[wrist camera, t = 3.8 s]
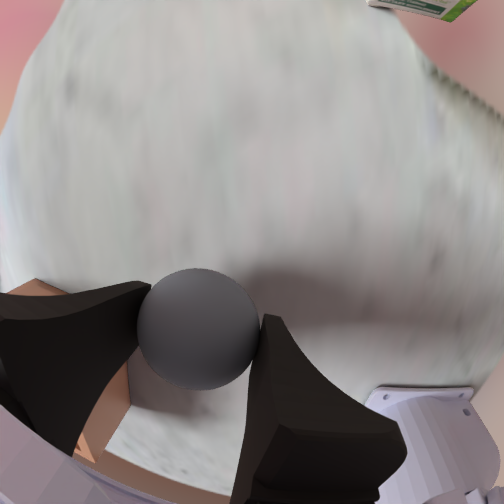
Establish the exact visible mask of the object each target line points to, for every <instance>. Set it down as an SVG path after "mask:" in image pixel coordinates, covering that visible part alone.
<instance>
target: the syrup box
mask: <svg viewBox="0 0 504 504" xmlns="http://www.w3.org/2000/svg"><path fill="white" fill-rule="evenodd" d="M476 1H477V0H366V2H367V4H368V5H370V6H377V7H378V6H383V7H389V8H395V9H399V10H404V11H408V12H413V13H418V14H422V15H426V16H430V17H433V18H437V19H441V20H444V21H447V22H452V21H454V20H455V18H457V17H458V16H459V15H460V14H461V13H463V12H464V11H465V10H466V9H467V8H468V7H470V6H471V5H472V4H473V3H474V2H476Z"/></svg>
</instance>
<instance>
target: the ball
mask: <svg viewBox="0 0 504 504" xmlns="http://www.w3.org/2000/svg"><path fill="white" fill-rule="evenodd" d="M137 337H138V342H139V346H140V349H141V351H142V353H143V356H144V357H145V359H146V361H147V362H148V364H149V365H150V366H151V368H152V369H153V370H154V371H155V372H156V373H157V374H158V375H159V376H161V377H162V378H163V379H165V380H166V381H168V382H170V383H171V384H174V385H176V386H178V387H181V388H185V389H190V390H210V389H215V388H218V387H221V386H224V385H226V384H228V383H230V382H232V381H233V380H235V379H236V378H238V377H239V376H240V375H241V374H242V373H243V372H244V371H245V370H246V369H247V367H248V366H249V365H250V363H251V361H252V360H253V358H254V356H255V354H256V350H257V346H258V342H259V337H260V323H259V318H258V314H257V311H256V308H255V306H254V303H253V302H252V300H251V298H250V297H249V295H248V294H247V293H246V292H245V290H244V289H243V288H242V287H241V286H240V285H239V284H238V283H236V282H235V281H234V280H233V279H231V278H229V277H228V276H226V275H224V274H221V273H219V272H216V271H213V270H208V269H197V268H194V269H185V270H181V271H178V272H175V273H172V274H170V275H168V276H166V277H165V278H163V279H162V280H160V281H159V282H158V283H157V284H155V286H154V287H153V288H152V289H151V290H150V291H149V292H148V294H147V295H146V297H145V299H144V300H143V302H142V305H141V307H140V310H139V314H138V318H137Z"/></svg>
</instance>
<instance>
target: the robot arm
mask: <svg viewBox="0 0 504 504" xmlns="http://www.w3.org/2000/svg"><path fill="white" fill-rule="evenodd" d="M150 290H151V284H148V283H144V282H141V281H130V282H125V283H121V284H116V285H112V286H108V287H103V288H99V289H94V290H89V291H84V292H79V293H73V294H64V295H53V296H25V295H14V294H6V293H0V504H177V503H173V502H170V501H167V500H164V499H160V498H158V497H155V496H152V495H149V494H147V493H144V492H141V491H139V490H136V489H134V488H131V487H129V486H127V485H124V484H122V483H120V482H118V481H115V480H113V479H111V478H109V477H107V476H105V475H103V474H101V473H99V472H97V471H95V470H93V469H91V468H89V467H87V466H85V465H84V464H82V463H80V462H78V461H76V460H75V459H73V458H72V455H73V452H74V450H75V447H76V445H77V442H78V439H79V437H80V435H81V433H82V431H83V428H84V426H85V424H86V422H87V420H88V418H89V416H90V414H91V412H92V410H93V408H94V407H95V405H96V403H97V401H98V399H99V398H100V396H101V394H102V393H103V391H104V389H105V388H106V386H107V385H108V383H109V382H110V381H111V379H112V378H113V377H114V375H115V374H116V373H117V372H118V370H119V369H120V368H121V367H122V366H123V364H124V363H125V362H126V361H127V359H128V358H129V357H130V356H131V354H132V353H133V352H134V351H135V350H136V348H137V347H138V346H139V342H138V337H137V318H138V314H139V310H140V307H141V305H142V302H143V300H144V299H145V297H146V295H147V294H148V292H149V291H150ZM473 393H474V390H473V388H472V387H465V388H391V387H379V388H376V389H375V390H374V391H373V392H372V393H371V395H370V396H369V398H368V400H367V401H366V403H365V405H362V404H361V403H359V402H357V401H356V400H354V399H353V398H351V397H350V396H348V395H347V394H345V393H344V392H343V391H341V390H340V389H339V388H338V387H336V386H335V385H334V384H332V383H331V382H330V381H329V380H328V379H327V378H326V377H324V376H323V375H322V374H321V373H320V372H319V371H318V370H317V368H316V367H315V366H314V365H313V364H312V363H311V362H310V361H309V360H308V358H307V357H306V356H305V355H304V353H303V352H302V351H301V349H300V348H299V347H298V345H297V344H296V342H295V341H294V339H293V338H292V336H291V334H290V333H289V331H288V329H287V327H286V326H285V324H284V322H283V320H282V319H281V317H278V316H274V315H269V314H264V318H263V322H262V325H261V329H260V337H259V342H258V346H257V350H256V354H255V356H254V358H253V360H252V365H251V370H250V375H249V386H248V401H247V415H246V426H245V433H244V439H243V444H242V449H241V454H240V459H239V464H238V468H237V473H236V478H235V482H234V486H233V491H232V495H231V499H230V504H504V487H499V486H496V487H494V488H493V489H491V488H492V486H493V485H494V483H495V481H496V479H497V477H498V473H499V469H500V454H499V450H498V447H497V445H496V444H495V442H494V440H493V438H492V437H491V435H490V433H489V432H488V430H487V429H486V427H485V425H484V424H483V422H482V420H481V419H480V417H479V416H478V414H477V413H476V411H475V410H474V408H473V406H472V405H471V403H470V402H469V399H470V398H471V396H472V395H473ZM386 394H387V395H386ZM384 395H385V396H384ZM490 489H491V490H490Z"/></svg>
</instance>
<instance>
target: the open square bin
mask: <svg viewBox="0 0 504 504" xmlns="http://www.w3.org/2000/svg"><path fill="white" fill-rule="evenodd" d="M6 294H14V295H25V296H53V295H64V294H69V293H66V292H64V291H62V290H59V289H57V288H55V287H53V286H50V285H48V284H46V283H44V282H42V281H39V280H37V279H33V280H31V281H29V282H27V283H25V284H23V285H21V286H19V287H17V288H15V289H13V290H11V291H10V292H8V293H6ZM130 406H131V402H130V393H129V382H128V370H127V361H126V362H125V363H124V364H123V366H122V367H121V368H120V369H119V370H118V372H117V373H116V374H115V375H114V377H113V378H112V379H111V381H110V382H109V383H108V385H107V386H106V388H105V389H104V391H103V393H102V394H101V396H100V398H99V399H98V401H97V403H96V405H95V407H94V408H93V410H92V412H91V414H90V416H89V418H88V420H87V422H86V424H85V426H84V428H83V431H82V433H81V435H80V437H79V439H78V442H77V445H76V447H75V450H74V452H75V453H77V454H79V455H81V456H83V457H84V458H86V459H88V460H90V461H92V462H94V463H96V462H97V460H98V459H99V457H100V455H101V454H102V452H103V450H104V449H105V447H106V445H107V444H108V442H109V440H110V439H111V437H112V435H113V434H114V432H115V431H116V429H117V427H118V426H119V424H120V422H121V421H122V419H123V417H124V416H125V414H126V413H127V411H128V409H129V408H130Z"/></svg>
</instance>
